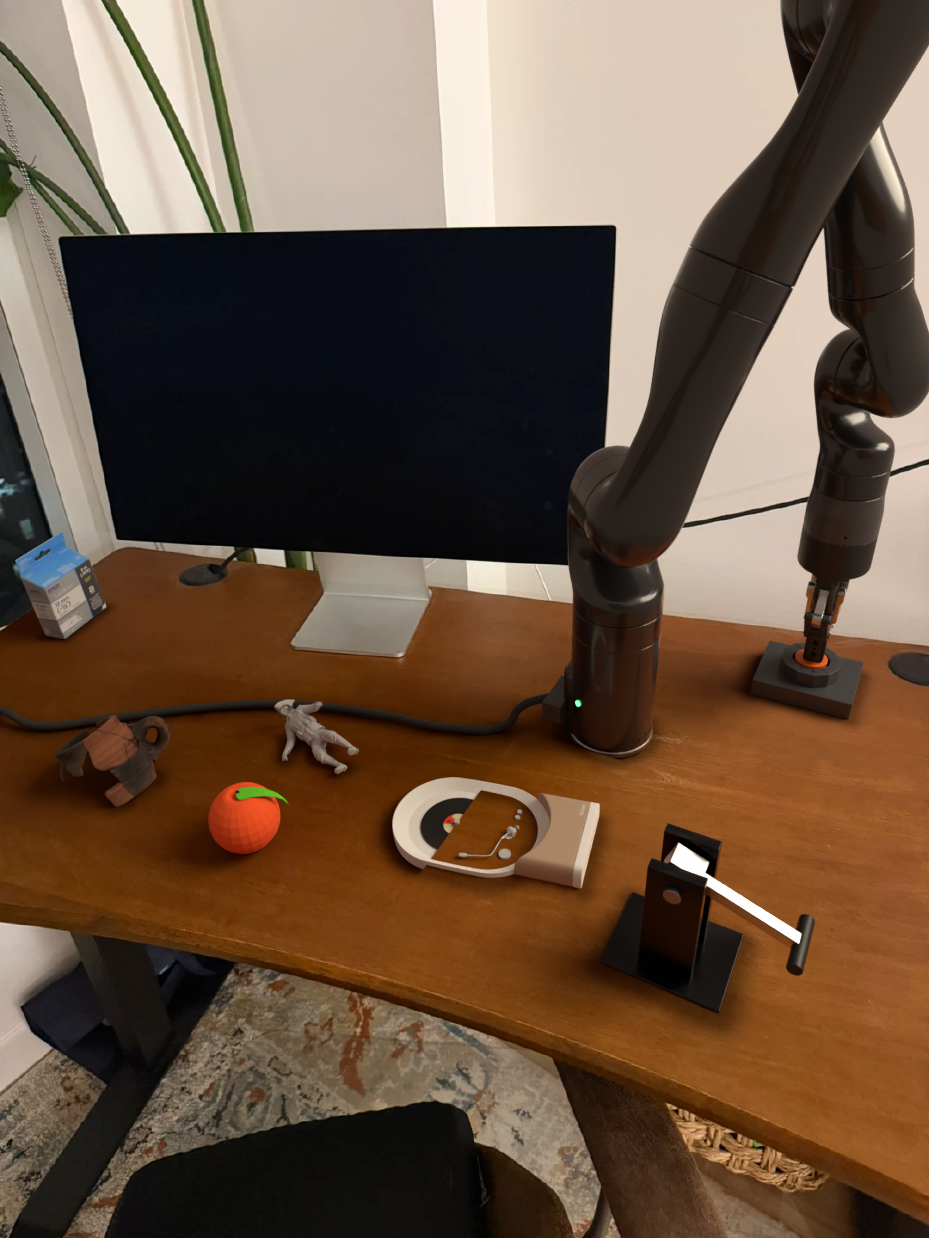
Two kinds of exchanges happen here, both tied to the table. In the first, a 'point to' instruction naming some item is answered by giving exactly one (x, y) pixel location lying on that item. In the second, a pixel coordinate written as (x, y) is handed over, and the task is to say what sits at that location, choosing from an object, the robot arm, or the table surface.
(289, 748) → the soldier figure
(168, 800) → the table surface
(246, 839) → the clementine
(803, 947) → the lever
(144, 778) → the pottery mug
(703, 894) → the bracket
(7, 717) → the robot arm
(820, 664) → the button
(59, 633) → the label tape box
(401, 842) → the record player
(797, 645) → the button box
